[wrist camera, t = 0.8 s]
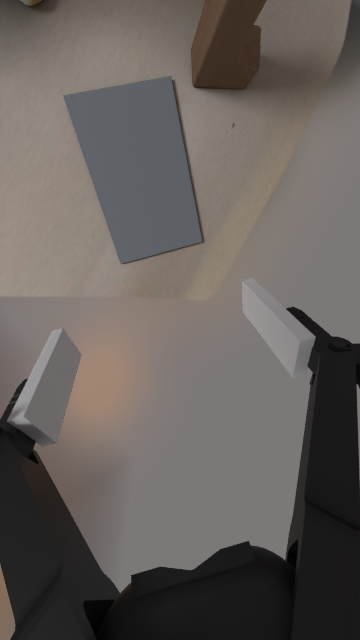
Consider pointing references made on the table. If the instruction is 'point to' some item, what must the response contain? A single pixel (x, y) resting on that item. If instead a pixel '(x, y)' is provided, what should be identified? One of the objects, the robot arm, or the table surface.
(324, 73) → the table surface
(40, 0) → the pastry
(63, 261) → the table surface
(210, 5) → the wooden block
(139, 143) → the mat
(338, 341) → the robot arm
